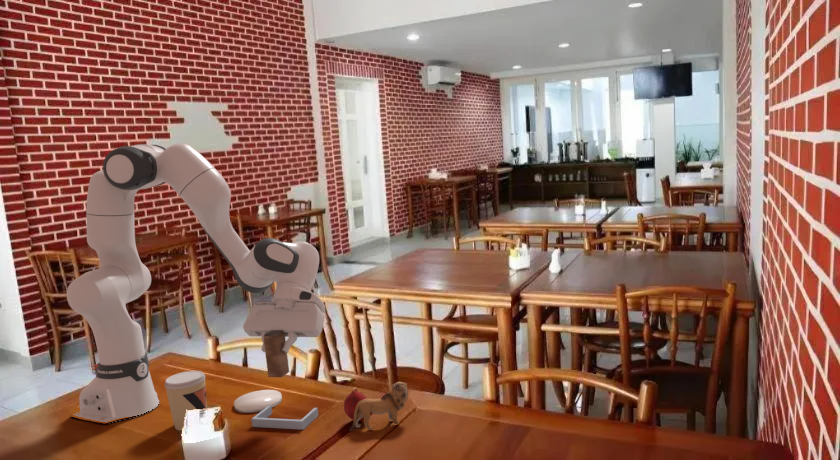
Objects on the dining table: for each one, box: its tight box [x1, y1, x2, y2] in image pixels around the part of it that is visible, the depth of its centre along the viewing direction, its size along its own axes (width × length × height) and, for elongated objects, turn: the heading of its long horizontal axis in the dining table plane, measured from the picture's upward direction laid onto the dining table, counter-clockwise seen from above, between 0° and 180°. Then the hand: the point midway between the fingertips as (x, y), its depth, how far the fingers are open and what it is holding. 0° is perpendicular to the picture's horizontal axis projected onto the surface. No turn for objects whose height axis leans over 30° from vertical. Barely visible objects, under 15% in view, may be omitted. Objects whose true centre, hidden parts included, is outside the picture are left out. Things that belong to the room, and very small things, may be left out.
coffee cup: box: [164, 370, 208, 431], centre depth 155 cm, size 9×9×12 cm
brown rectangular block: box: [263, 330, 290, 378], centre depth 151 cm, size 4×4×10 cm
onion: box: [343, 387, 368, 422], centre depth 147 cm, size 6×6×8 cm
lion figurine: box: [349, 381, 409, 432], centre depth 144 cm, size 15×5×9 cm, turn 112°
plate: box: [233, 389, 283, 414], centre depth 165 cm, size 12×12×1 cm
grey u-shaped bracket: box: [250, 406, 319, 431], centre depth 151 cm, size 14×8×2 cm, turn 72°
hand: (274, 351), depth 151 cm, fingers closed on brown rectangular block, 4 cm apart
